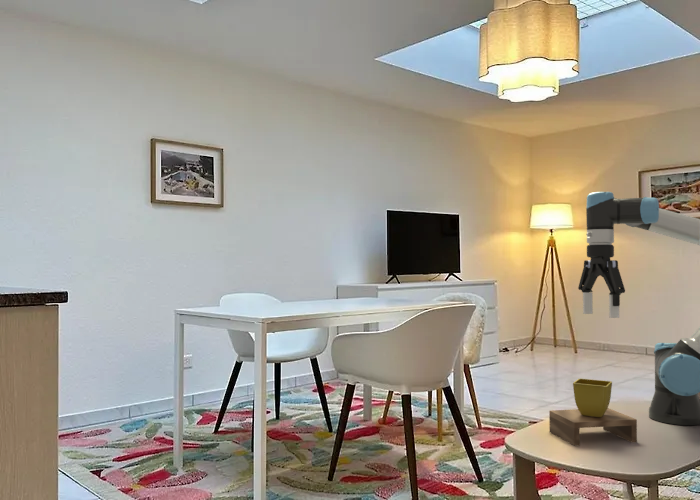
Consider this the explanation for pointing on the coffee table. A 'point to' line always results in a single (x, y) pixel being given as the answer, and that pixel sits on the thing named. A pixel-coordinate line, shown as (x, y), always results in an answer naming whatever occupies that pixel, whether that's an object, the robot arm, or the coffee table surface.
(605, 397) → the flower pot
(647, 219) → the robot arm
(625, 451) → the coffee table surface
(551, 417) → the walnut shelf
